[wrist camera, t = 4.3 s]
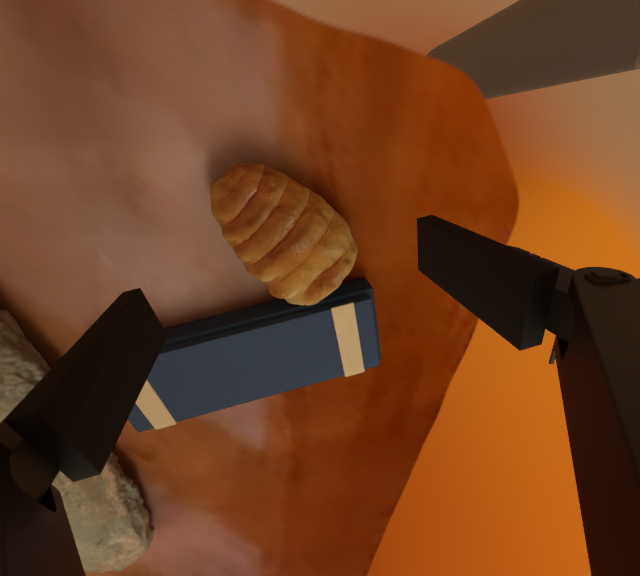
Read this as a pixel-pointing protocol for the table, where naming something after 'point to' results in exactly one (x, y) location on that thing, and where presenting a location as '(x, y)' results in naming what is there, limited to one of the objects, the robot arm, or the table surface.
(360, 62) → the table surface
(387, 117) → the table surface
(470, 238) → the robot arm
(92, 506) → the long grey stone
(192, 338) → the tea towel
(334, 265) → the pastry
